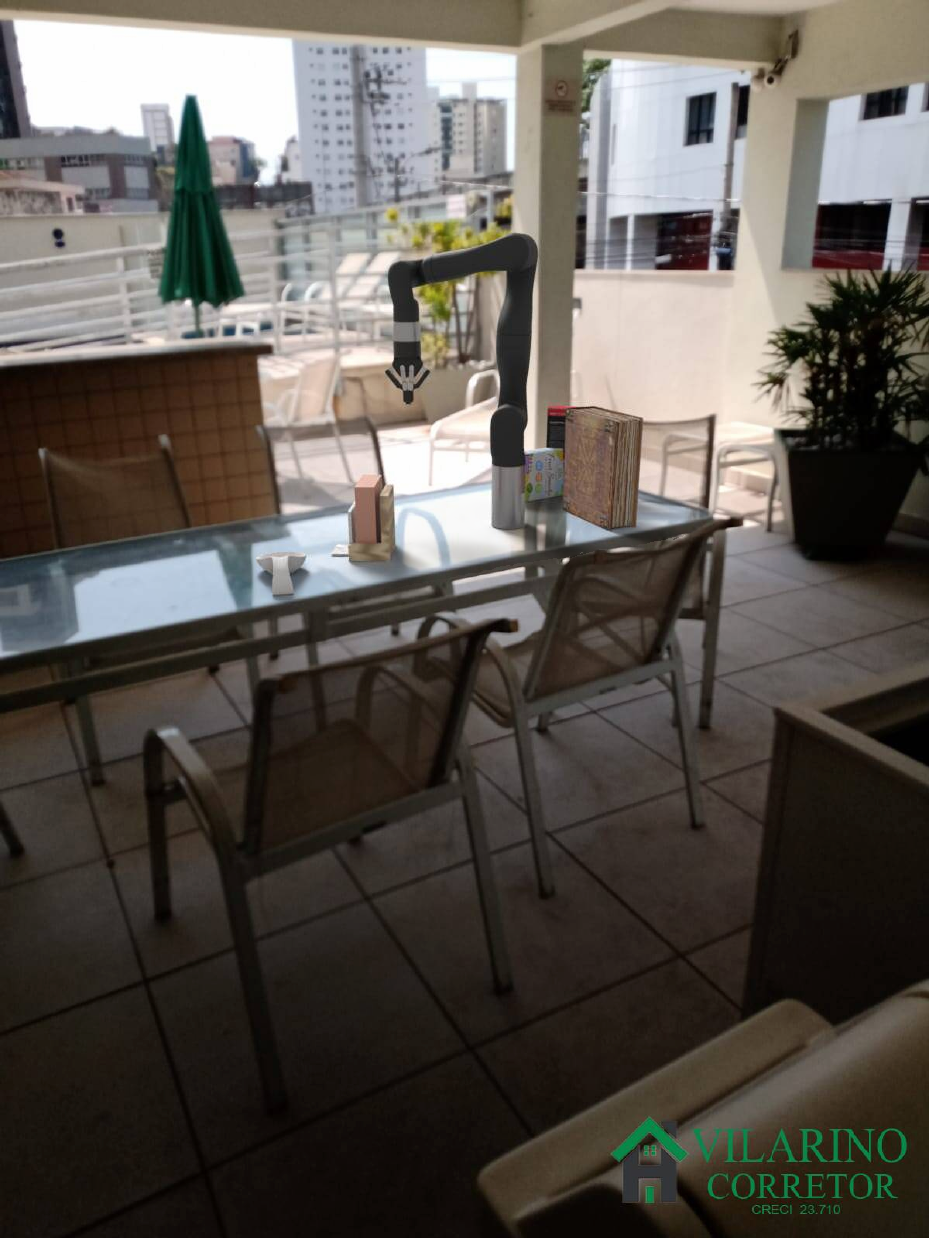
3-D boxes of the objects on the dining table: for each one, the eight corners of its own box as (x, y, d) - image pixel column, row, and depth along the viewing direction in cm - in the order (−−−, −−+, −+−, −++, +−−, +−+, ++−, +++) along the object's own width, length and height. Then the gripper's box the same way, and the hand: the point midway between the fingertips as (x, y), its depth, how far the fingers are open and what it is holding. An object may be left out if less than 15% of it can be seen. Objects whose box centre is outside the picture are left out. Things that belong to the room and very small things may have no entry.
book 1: (384, 542, 236) (381, 474, 230) (377, 558, 223) (374, 487, 217) (366, 542, 236) (362, 474, 230) (358, 558, 223) (354, 487, 217)
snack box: (556, 492, 288) (557, 445, 283) (567, 495, 284) (569, 447, 278) (503, 501, 277) (503, 452, 272) (514, 504, 273) (514, 455, 267)
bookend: (360, 544, 234) (358, 499, 230) (353, 558, 223) (350, 511, 218) (338, 544, 234) (335, 499, 230) (330, 558, 223) (327, 511, 219)
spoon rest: (257, 565, 219) (254, 537, 216) (305, 562, 221) (303, 534, 218) (257, 598, 197) (254, 567, 195) (311, 594, 200) (309, 563, 197)
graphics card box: (599, 492, 287) (603, 405, 277) (598, 497, 281) (602, 408, 271) (546, 490, 290) (548, 404, 280) (543, 495, 284) (546, 407, 274)
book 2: (636, 527, 248) (643, 418, 237) (608, 531, 245) (614, 420, 234) (588, 506, 270) (593, 405, 259) (562, 510, 267) (565, 407, 256)
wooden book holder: (395, 545, 234) (393, 484, 228) (389, 561, 221) (386, 497, 215) (357, 544, 234) (354, 484, 228) (348, 561, 221) (345, 497, 215)
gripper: (381, 340, 240) (383, 406, 247) (430, 340, 240) (431, 406, 246) (384, 338, 247) (386, 402, 254) (432, 338, 247) (433, 402, 253)
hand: (408, 404), depth 250 cm, fingers closed
